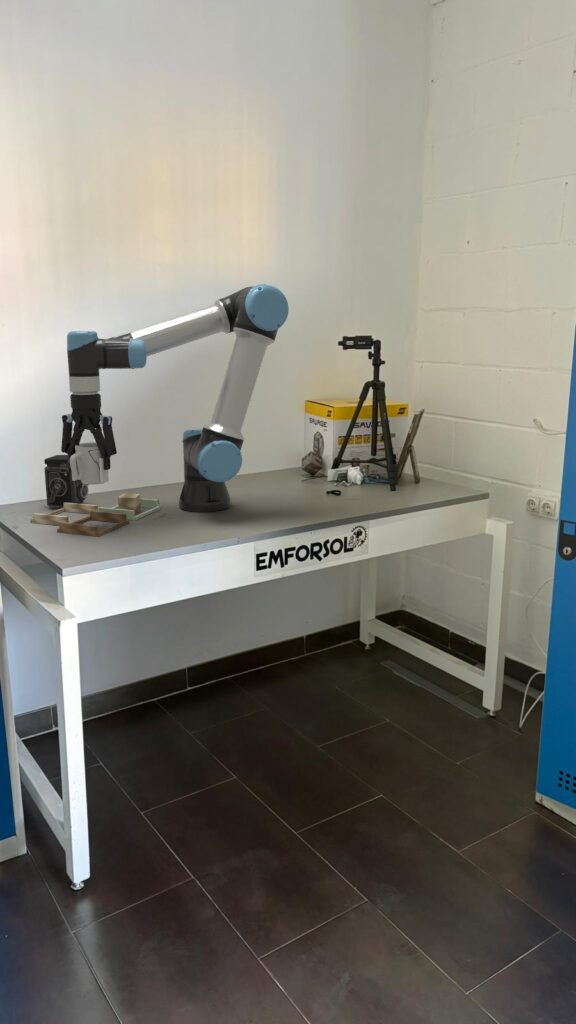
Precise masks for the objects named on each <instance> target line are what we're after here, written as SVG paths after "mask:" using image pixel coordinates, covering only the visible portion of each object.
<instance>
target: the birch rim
mask: <svg viewBox="0 0 576 1024" xmlns="http://www.w3.org/2000/svg"><path fill="white" fill-rule="evenodd" d="M63 504H64V508H58V509H56V510H54V511H50V512H48V513H37V512H33V513H32V518H31V519H30V523H31V524H41V525H43V524H44V525H50V526H51V525H52V526H59V523H61V522H62V523H74V522H76V521H79V520H81V519H84V518H87V517H89V516H90V511H99V507H98V505H97V504H86V503H81V504H77V503H66V502H65V503H63ZM64 512H67V513H76V514H78V513H79V514H87V515H85V516H81V517H80V518H76V519H74V520H72V521H70V520H69V516H67V515H58V514H60V513H61V514H62V513H64ZM69 521H70V522H69Z"/></svg>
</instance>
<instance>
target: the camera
mask: <svg viewBox="0 0 576 1024" xmlns="http://www.w3.org/2000/svg"><path fill="white" fill-rule="evenodd" d="M44 464H45V465H46V466H45V467H44V480H45V481H44V482H45V483H44V484H45V493H46V495H45V497H46V504H47V506H48V507H50V508H51V509H54V508H58V509H62V508H64V504H63V503H65V502H66V503H77V504H84V501H85V500H86V499H87V498H88V495H89V487H88V486H89V485H88V484H83V483H82V482H81V480H76V481H72V470H71V467H70V466H69V456H68V454H55V455H53V456H51V457H47V458H45V459H44Z"/></svg>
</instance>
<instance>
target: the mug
mask: <svg viewBox="0 0 576 1024" xmlns="http://www.w3.org/2000/svg"><path fill="white" fill-rule="evenodd" d="M75 451H76V454H73V455H72V456H71V457H70V466H71V470H72V475H73V477H74V479H76V480H81V482H82V483H83V484H88V486H90V485H93V486H94V485H101V484H103V483H101V482H100V464H99V458H101V456H102V455H101V453H100V451H99V448H98V446H97V443H96V441H95V442H94V441H93V442H91V441H90V442H80V443H79V446H77V445H75ZM76 459H77V465H78V470H79V474H80V475H78V472H77V467H76Z"/></svg>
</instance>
